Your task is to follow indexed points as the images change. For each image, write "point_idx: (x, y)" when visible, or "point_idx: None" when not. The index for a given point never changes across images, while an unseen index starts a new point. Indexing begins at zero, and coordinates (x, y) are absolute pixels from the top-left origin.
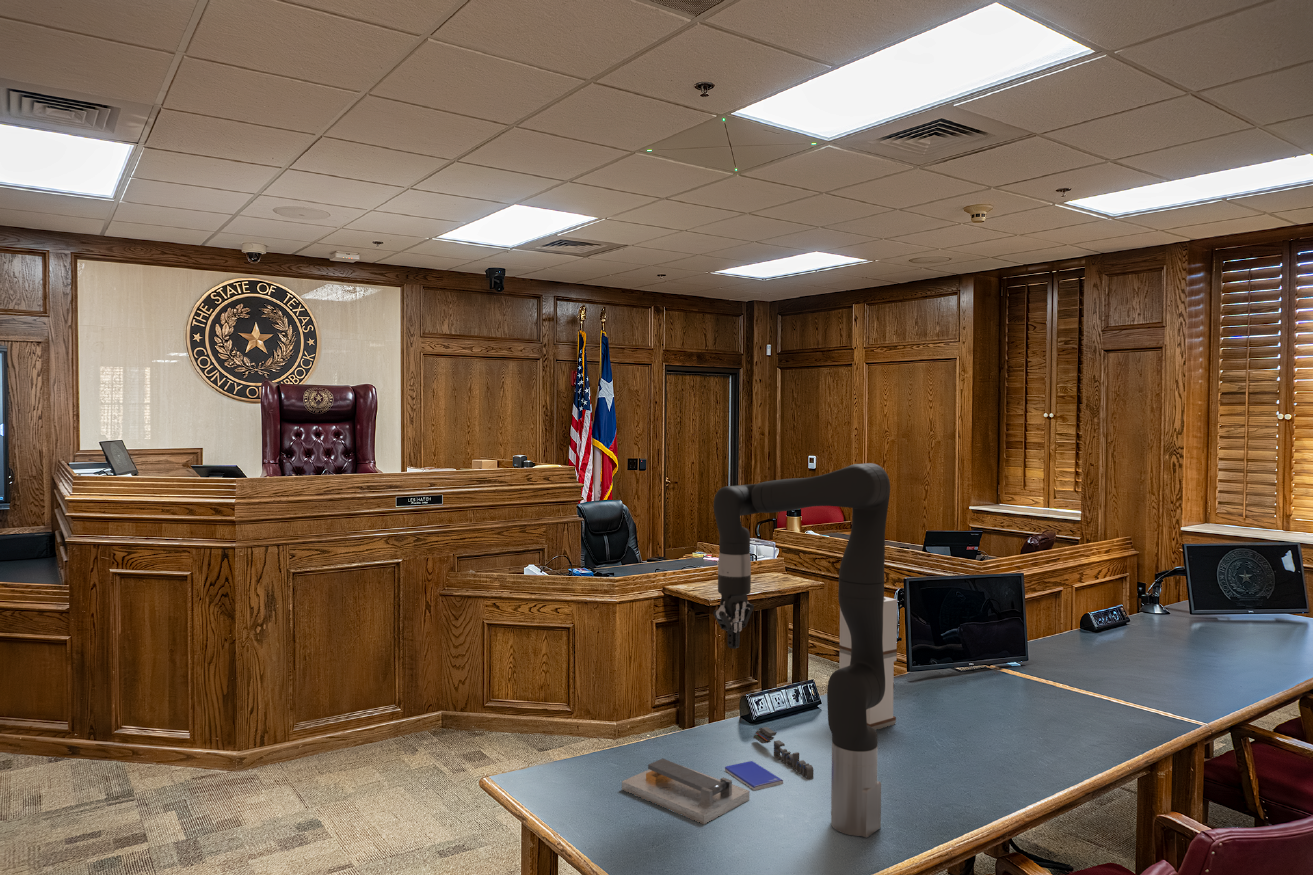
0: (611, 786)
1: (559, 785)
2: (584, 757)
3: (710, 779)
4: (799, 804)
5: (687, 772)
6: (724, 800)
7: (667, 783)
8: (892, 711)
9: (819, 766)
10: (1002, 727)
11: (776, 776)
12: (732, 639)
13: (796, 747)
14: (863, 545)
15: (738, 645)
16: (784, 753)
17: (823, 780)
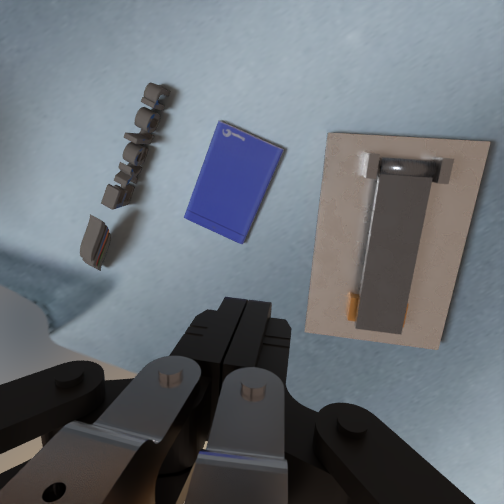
0: (429, 362)
1: (477, 428)
2: None
3: (382, 199)
4: (283, 36)
5: (382, 254)
6: (401, 147)
7: None
8: None
9: (105, 105)
10: None
11: (214, 139)
12: (288, 350)
13: (65, 191)
14: None
15: (233, 301)
16: (131, 171)
17: (154, 61)
